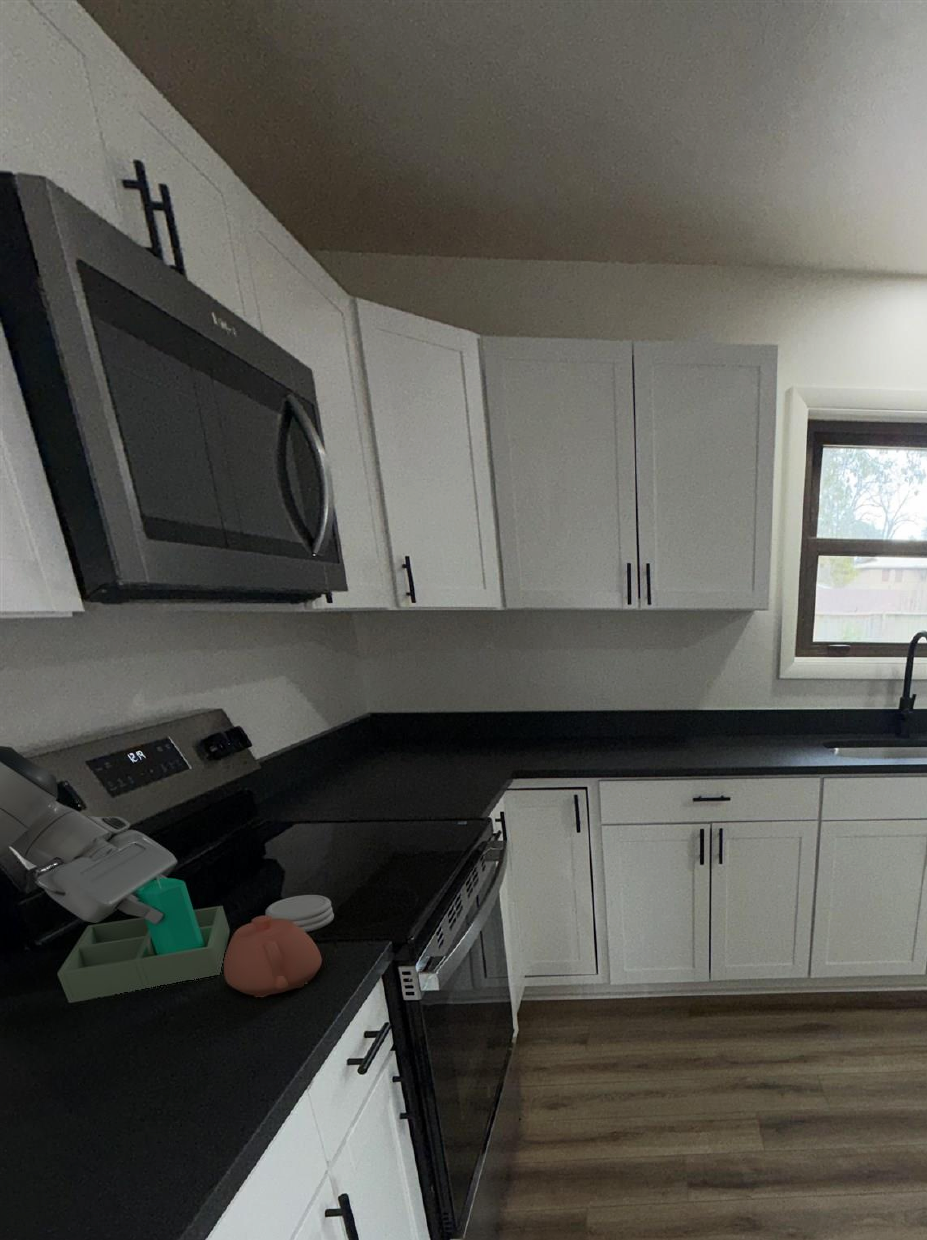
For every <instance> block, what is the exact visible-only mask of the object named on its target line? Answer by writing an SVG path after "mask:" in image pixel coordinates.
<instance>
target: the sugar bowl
mask: <svg viewBox="0 0 927 1240" xmlns="http://www.w3.org/2000/svg"><path fill="white" fill-rule="evenodd" d="M322 961H323V959H322V955H321V952H320V949H319V948H318V946H317V944H316V943H315V942H314V940H313V939H312V937H310V935H309V934H308V932H306V933H305V932H304V931H303V930H302V929H301V928H300V927H299V926H297V925H296V924H295V923H293V922H292V921H290V920H287V919H282V918H273V919H272V917H271V916H266V915H259V916H256V917H254V918H252V919H251V922H249V923H246V924H244V925H242V926H240V927H239V928H237V929H236V930H235V932H234V933H233V935H232V936H231V939H230V941H229V943H228V945H227V947H226V952H225V957H224V961H223V975H224V979H225V982H226V984H228V985H229V986H230V987H231V988H233V989H235V990H236V991H238V992H241V993H242V994H245V995H250V996H254V998H257V997H261V998H265V997H267V996H270V995H276V994H280V993H284V992H288V991H292V990H294V989H300V987H301V988H303V987H302V986H304V984H307V985H308V982H310V981H311V980H312V979H313V978H314V977H315V975H316V974H317V972H318V971H319V969H320V968H321V965H322ZM304 987H305V986H304Z"/></svg>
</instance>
